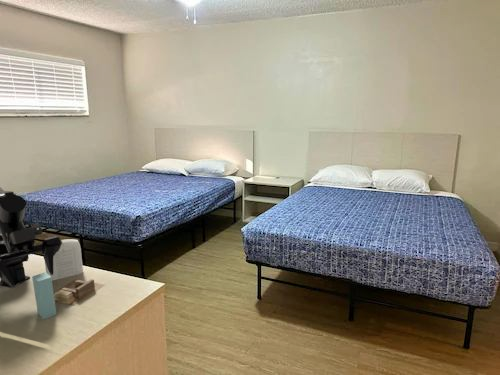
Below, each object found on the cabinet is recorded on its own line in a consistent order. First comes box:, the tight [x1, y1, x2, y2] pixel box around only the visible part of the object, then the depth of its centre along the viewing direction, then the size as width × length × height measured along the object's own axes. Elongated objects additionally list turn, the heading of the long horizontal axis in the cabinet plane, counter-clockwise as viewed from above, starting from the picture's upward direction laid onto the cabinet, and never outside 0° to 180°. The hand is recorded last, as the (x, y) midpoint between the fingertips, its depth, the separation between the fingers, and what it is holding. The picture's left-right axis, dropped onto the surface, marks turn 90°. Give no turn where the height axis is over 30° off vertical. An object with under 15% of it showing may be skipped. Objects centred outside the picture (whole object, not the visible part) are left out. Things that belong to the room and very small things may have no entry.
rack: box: [53, 278, 105, 307], centre depth 100 cm, size 11×12×4 cm
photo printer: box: [43, 238, 84, 281], centre depth 109 cm, size 10×4×12 cm, turn 123°
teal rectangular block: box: [31, 272, 57, 320], centre depth 88 cm, size 4×3×10 cm
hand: (33, 280), depth 92 cm, fingers open, 9 cm apart
